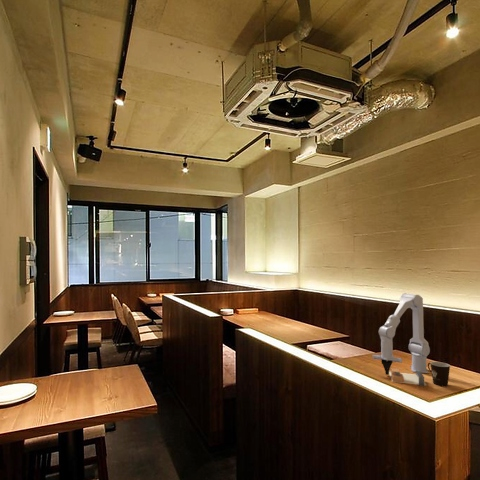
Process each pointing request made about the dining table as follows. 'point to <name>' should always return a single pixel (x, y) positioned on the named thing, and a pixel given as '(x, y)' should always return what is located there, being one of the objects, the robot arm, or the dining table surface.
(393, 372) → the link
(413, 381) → the pintle base
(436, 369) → the coffee mug
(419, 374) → the keeper
